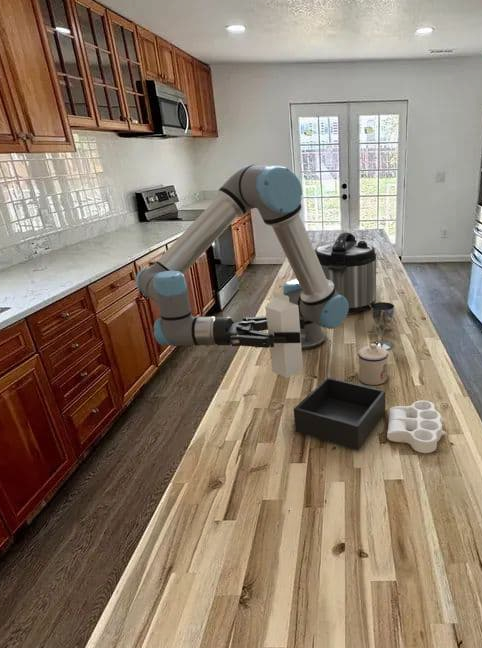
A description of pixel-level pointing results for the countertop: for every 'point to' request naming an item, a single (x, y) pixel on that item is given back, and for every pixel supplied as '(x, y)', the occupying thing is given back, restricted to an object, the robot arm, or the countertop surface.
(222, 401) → the countertop surface
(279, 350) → the milk
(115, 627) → the countertop surface
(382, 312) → the wine glass
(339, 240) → the pressure cooker
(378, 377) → the teacup with lid
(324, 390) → the tray
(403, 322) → the countertop surface
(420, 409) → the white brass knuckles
